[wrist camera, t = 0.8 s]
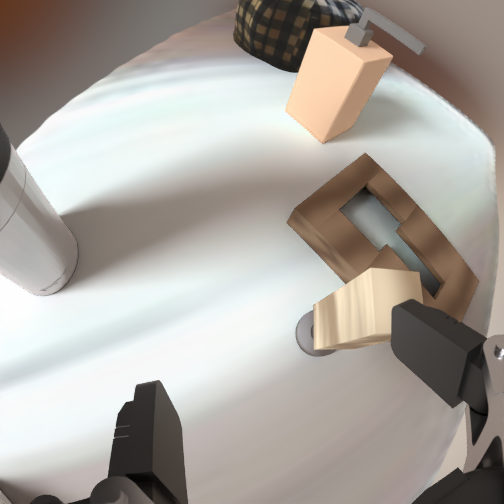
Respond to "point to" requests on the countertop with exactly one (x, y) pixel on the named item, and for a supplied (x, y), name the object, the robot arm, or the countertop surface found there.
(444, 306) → the walnut keyhole board
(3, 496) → the supplement box
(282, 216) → the countertop surface
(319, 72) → the soap dispenser
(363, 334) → the birch peg
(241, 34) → the decorative pumpkin
